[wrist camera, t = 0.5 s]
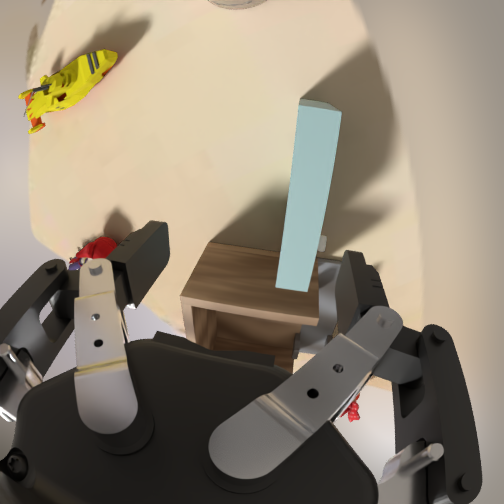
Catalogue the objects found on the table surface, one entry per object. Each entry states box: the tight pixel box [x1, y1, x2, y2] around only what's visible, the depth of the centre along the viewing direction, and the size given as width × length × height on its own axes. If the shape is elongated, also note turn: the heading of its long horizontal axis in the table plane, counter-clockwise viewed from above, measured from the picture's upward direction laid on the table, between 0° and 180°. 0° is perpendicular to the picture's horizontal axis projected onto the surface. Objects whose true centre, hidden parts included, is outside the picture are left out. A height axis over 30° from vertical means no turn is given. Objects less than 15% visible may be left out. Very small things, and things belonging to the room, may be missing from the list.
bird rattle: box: [340, 393, 360, 422], centre depth 48 cm, size 6×11×9 cm
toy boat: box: [19, 49, 118, 134], centre depth 24 cm, size 6×18×10 cm, turn 105°
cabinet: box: [180, 242, 342, 374], centre depth 39 cm, size 20×21×11 cm
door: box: [275, 99, 342, 292], centre depth 26 cm, size 16×4×12 cm, turn 176°
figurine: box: [68, 237, 117, 270], centre depth 42 cm, size 6×8×15 cm
